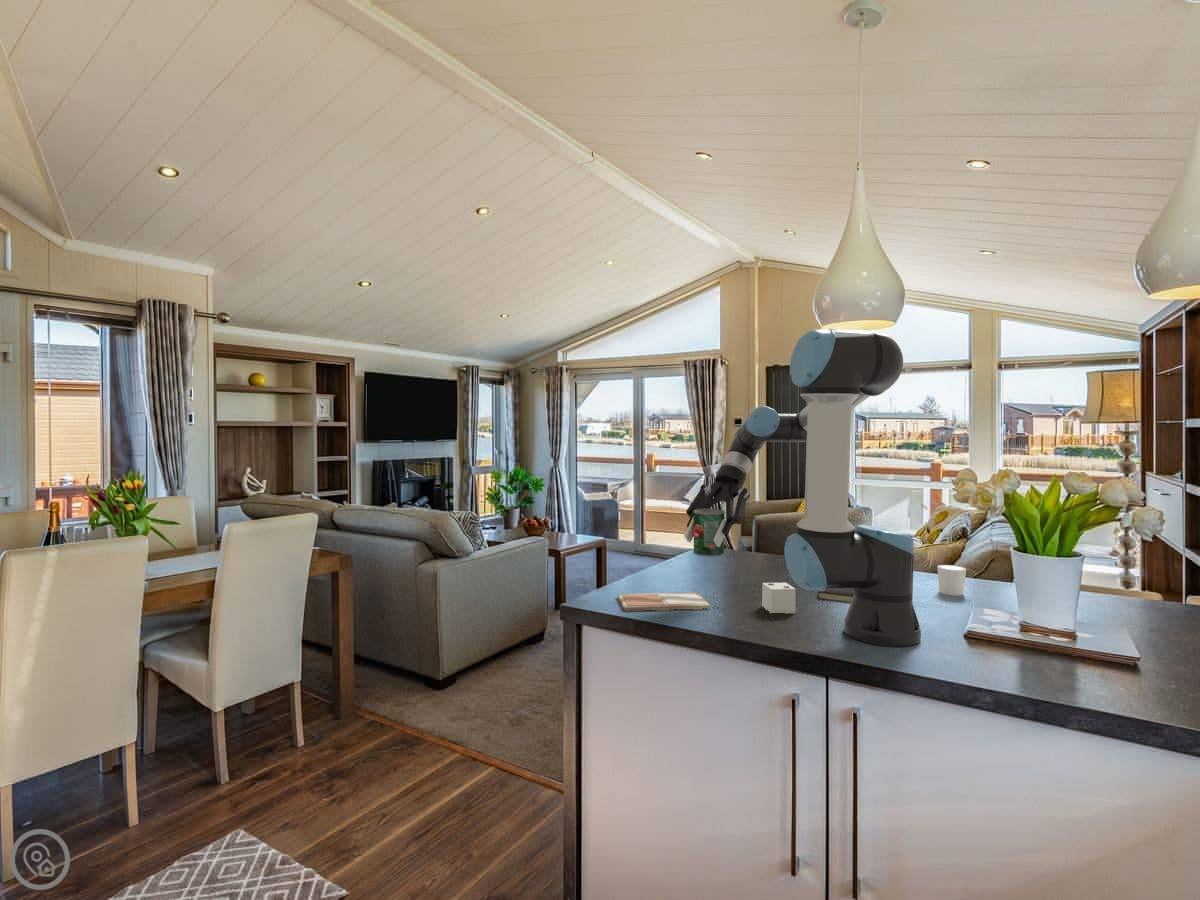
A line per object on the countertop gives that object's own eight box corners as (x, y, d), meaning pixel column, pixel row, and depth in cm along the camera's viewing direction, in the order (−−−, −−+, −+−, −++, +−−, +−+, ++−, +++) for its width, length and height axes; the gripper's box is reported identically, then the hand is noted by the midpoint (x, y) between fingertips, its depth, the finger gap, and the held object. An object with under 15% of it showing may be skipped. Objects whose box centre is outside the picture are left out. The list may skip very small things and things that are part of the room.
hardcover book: (885, 586, 181) (886, 578, 181) (884, 608, 160) (884, 599, 160) (826, 580, 188) (826, 572, 188) (817, 600, 167) (817, 591, 167)
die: (795, 613, 153) (795, 588, 153) (771, 614, 153) (771, 588, 152) (785, 606, 159) (785, 582, 159) (762, 606, 159) (762, 582, 158)
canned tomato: (730, 554, 162) (731, 511, 162) (706, 558, 159) (706, 514, 158) (711, 548, 169) (711, 507, 169) (687, 552, 166) (687, 509, 165)
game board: (710, 609, 156) (710, 604, 156) (625, 611, 154) (625, 607, 154) (697, 595, 168) (697, 591, 168) (618, 597, 166) (618, 593, 166)
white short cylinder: (969, 596, 169) (970, 570, 169) (942, 595, 170) (942, 569, 170) (959, 590, 176) (960, 564, 175) (932, 588, 177) (933, 563, 177)
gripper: (773, 484, 168) (743, 555, 157) (704, 479, 181) (673, 544, 170) (764, 465, 163) (733, 537, 152) (695, 461, 177) (661, 527, 166)
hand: (701, 541), depth 161 cm, fingers closed on canned tomato, 8 cm apart
